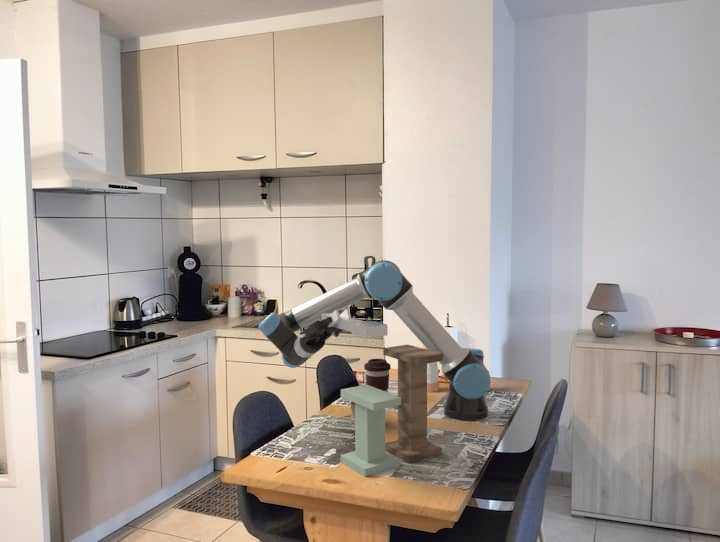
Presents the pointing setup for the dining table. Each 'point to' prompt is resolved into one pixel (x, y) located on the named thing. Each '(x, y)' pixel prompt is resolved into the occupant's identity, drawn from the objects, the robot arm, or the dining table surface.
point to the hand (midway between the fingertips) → (343, 313)
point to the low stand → (370, 430)
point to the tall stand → (412, 403)
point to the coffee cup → (377, 373)
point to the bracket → (359, 326)
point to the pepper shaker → (432, 376)
